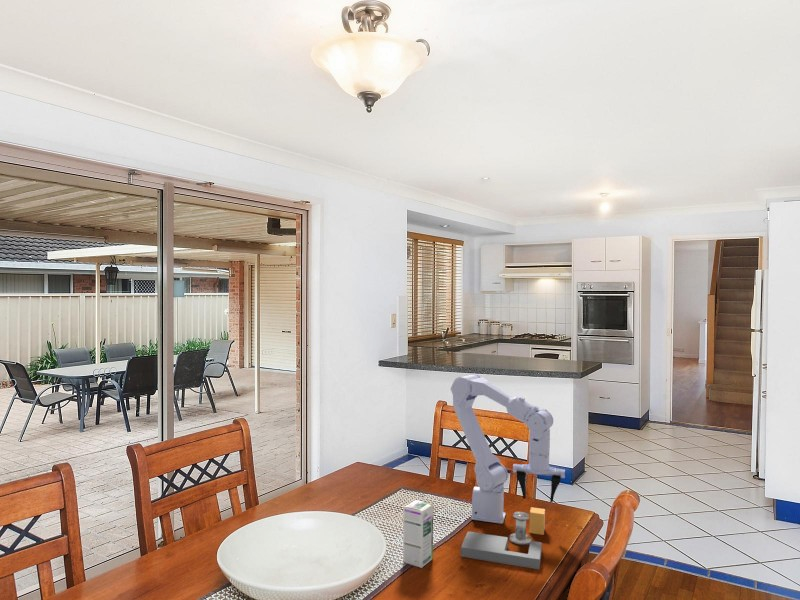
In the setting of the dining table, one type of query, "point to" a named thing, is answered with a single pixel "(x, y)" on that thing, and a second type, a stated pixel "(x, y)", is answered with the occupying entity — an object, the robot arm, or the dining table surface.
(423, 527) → the syrup box
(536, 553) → the board
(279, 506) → the dining table surface
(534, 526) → the tab block
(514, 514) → the bobbin post
